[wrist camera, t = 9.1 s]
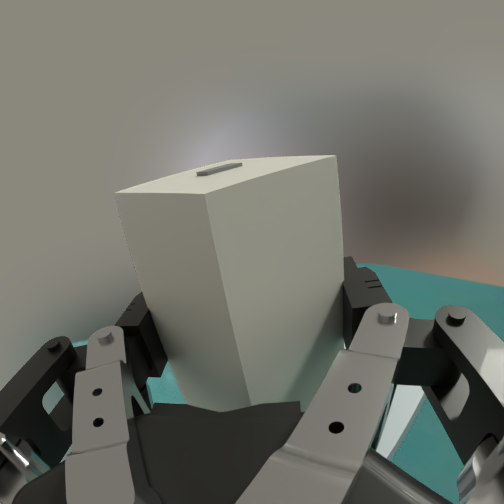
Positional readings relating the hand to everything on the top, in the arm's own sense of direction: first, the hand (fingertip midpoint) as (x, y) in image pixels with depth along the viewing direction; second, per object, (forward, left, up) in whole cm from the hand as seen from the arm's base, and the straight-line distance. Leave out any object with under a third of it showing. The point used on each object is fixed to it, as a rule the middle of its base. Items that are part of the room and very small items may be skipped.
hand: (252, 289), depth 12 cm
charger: (+2, +2, -7) cm, 7 cm away
